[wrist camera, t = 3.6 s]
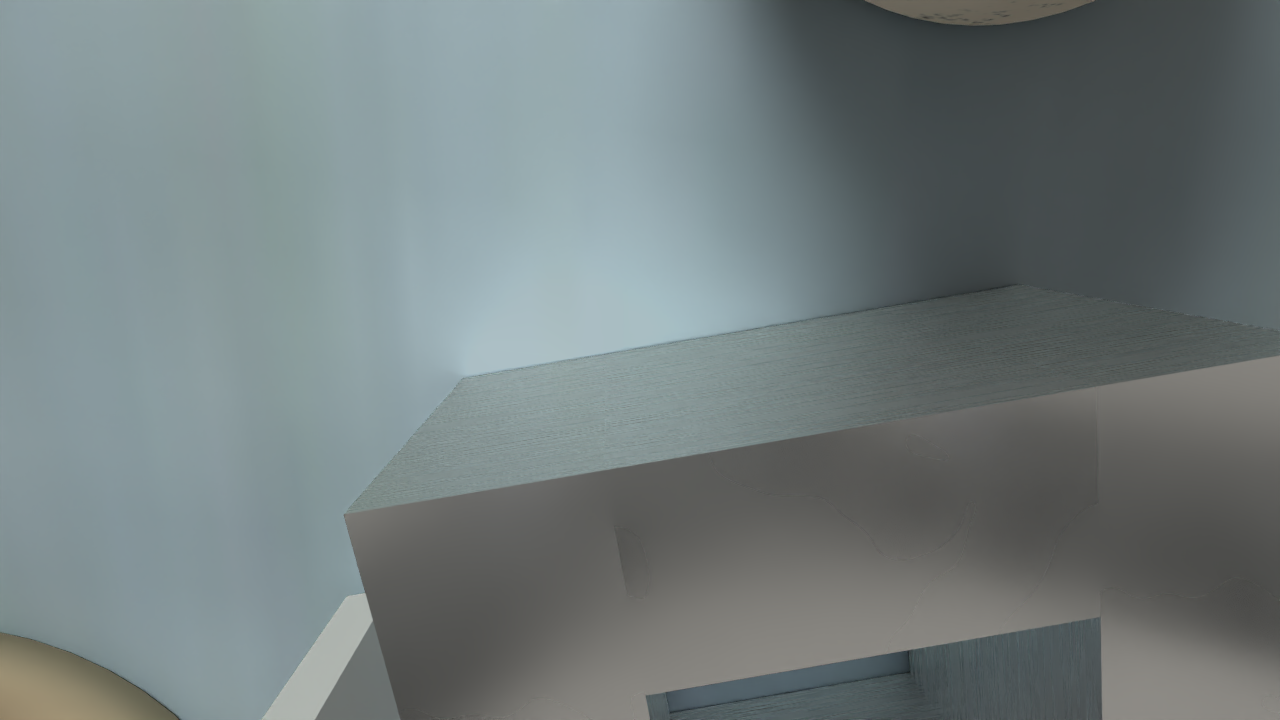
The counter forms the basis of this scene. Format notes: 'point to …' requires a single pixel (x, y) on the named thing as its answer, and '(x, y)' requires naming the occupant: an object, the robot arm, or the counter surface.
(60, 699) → the hub
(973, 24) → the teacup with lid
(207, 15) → the counter surface
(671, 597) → the white boxy piece
